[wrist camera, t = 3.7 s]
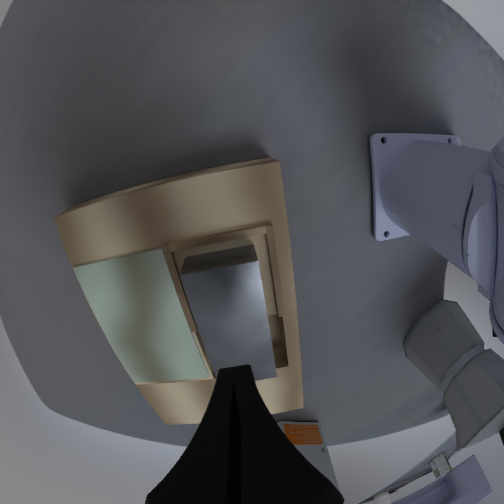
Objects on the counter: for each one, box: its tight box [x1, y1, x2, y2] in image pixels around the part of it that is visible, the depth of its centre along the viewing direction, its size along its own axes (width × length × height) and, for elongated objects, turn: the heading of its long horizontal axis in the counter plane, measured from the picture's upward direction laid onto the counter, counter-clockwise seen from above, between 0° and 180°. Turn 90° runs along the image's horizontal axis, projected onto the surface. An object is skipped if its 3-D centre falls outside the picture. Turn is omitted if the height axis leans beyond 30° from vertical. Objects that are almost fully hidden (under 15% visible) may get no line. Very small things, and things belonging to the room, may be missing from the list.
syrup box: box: [430, 453, 452, 480], centre depth 56 cm, size 6×6×14 cm
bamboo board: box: [54, 158, 304, 424], centre depth 19 cm, size 14×22×3 cm, turn 9°
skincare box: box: [277, 421, 340, 492], centre depth 24 cm, size 6×4×12 cm
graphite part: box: [180, 244, 277, 381], centre depth 16 cm, size 4×9×2 cm, turn 9°
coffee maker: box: [403, 299, 504, 453], centre depth 16 cm, size 15×9×18 cm, turn 165°
